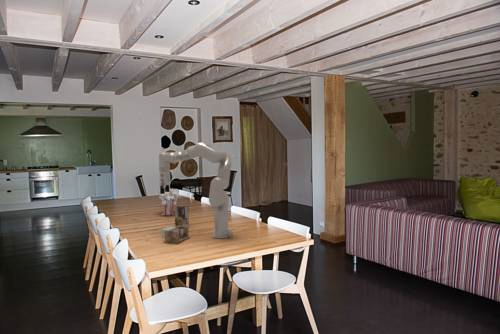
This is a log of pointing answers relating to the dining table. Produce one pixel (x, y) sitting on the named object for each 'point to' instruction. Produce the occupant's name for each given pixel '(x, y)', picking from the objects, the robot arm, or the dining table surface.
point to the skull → (169, 200)
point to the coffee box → (181, 216)
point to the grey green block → (167, 229)
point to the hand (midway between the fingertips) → (164, 192)
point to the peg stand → (177, 235)
